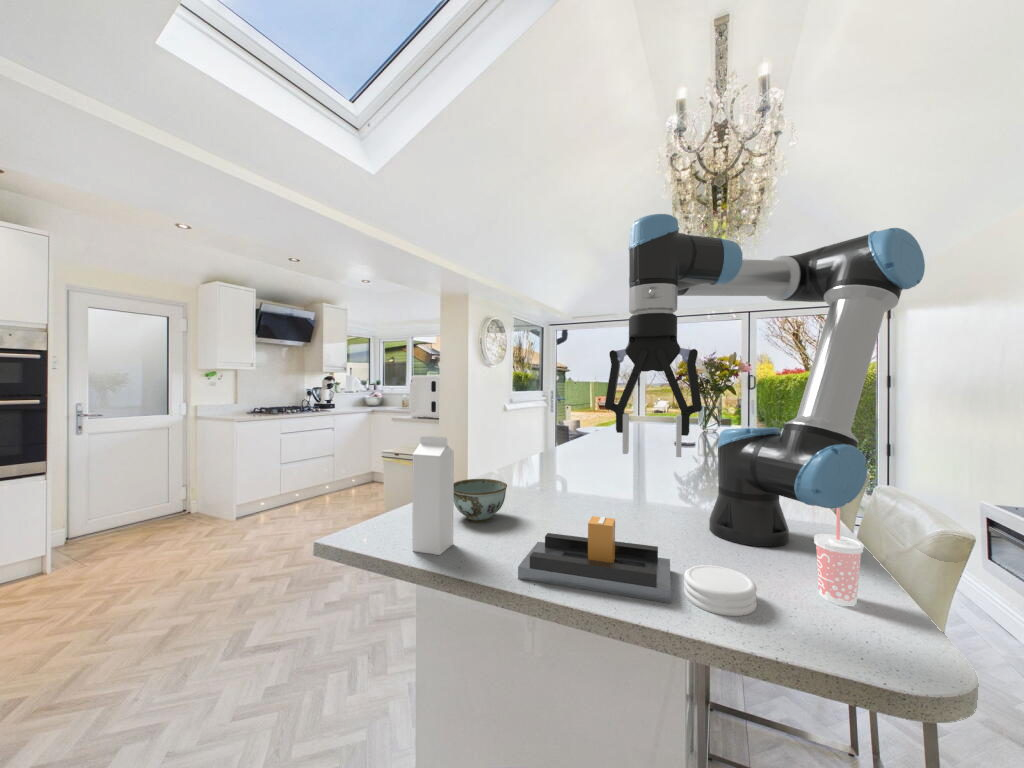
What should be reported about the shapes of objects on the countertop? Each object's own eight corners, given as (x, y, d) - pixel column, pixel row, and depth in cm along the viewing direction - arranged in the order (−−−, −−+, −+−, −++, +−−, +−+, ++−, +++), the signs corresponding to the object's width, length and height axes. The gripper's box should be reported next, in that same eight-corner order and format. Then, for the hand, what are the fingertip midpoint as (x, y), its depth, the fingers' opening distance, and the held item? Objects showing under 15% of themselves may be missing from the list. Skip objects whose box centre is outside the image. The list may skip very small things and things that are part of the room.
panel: (669, 570, 77) (670, 547, 77) (670, 603, 65) (670, 576, 65) (537, 551, 85) (537, 531, 85) (517, 578, 73) (518, 554, 73)
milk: (427, 541, 90) (427, 434, 90) (454, 544, 88) (454, 435, 88) (411, 551, 85) (411, 437, 84) (439, 555, 83) (440, 438, 83)
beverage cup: (808, 586, 71) (809, 500, 71) (855, 594, 68) (856, 504, 68) (818, 604, 65) (819, 511, 65) (869, 613, 63) (870, 516, 63)
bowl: (483, 506, 115) (483, 476, 115) (518, 518, 105) (518, 485, 105) (439, 517, 105) (439, 484, 105) (473, 532, 96) (473, 495, 95)
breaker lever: (614, 558, 76) (615, 517, 76) (612, 568, 72) (612, 525, 72) (591, 555, 77) (591, 515, 77) (587, 564, 73) (588, 522, 73)
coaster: (765, 601, 67) (765, 578, 67) (743, 626, 60) (743, 601, 60) (699, 579, 74) (699, 558, 74) (672, 600, 67) (672, 577, 67)
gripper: (586, 314, 71) (585, 454, 72) (724, 307, 65) (723, 462, 65) (593, 320, 79) (592, 447, 79) (719, 314, 72) (717, 454, 72)
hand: (651, 454), depth 72 cm, fingers open, 8 cm apart
